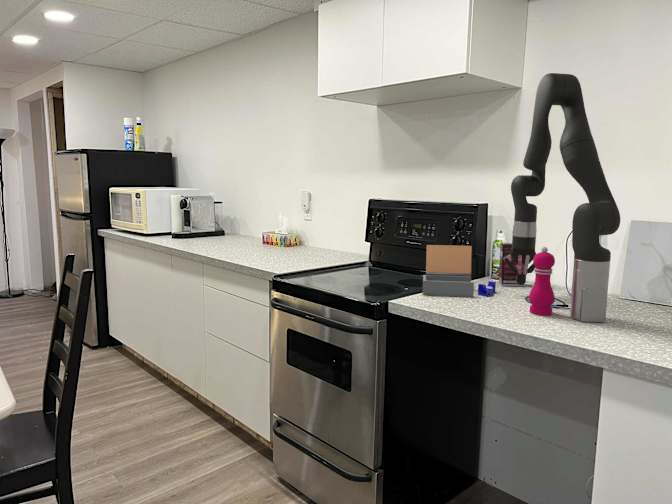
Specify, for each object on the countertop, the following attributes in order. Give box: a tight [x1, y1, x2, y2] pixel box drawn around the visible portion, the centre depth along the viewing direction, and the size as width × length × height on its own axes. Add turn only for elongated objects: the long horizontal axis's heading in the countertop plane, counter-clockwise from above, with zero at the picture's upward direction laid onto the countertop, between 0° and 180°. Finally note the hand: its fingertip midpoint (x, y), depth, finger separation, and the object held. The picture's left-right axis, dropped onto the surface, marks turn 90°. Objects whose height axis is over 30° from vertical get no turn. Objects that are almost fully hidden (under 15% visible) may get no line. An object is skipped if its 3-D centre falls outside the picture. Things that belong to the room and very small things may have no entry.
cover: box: [425, 244, 473, 277], centre depth 184 cm, size 11×16×1 cm
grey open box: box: [422, 274, 475, 298], centre depth 178 cm, size 11×17×5 cm, turn 80°
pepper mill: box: [528, 246, 556, 316], centre depth 150 cm, size 7×7×20 cm
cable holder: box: [477, 280, 497, 297], centre depth 176 cm, size 8×4×4 cm, turn 132°
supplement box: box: [498, 242, 525, 287], centre depth 190 cm, size 9×5×16 cm, turn 84°
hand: (520, 284), depth 174 cm, fingers closed
